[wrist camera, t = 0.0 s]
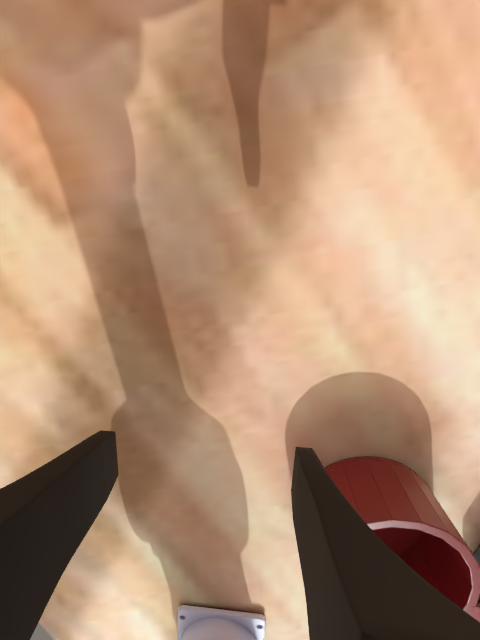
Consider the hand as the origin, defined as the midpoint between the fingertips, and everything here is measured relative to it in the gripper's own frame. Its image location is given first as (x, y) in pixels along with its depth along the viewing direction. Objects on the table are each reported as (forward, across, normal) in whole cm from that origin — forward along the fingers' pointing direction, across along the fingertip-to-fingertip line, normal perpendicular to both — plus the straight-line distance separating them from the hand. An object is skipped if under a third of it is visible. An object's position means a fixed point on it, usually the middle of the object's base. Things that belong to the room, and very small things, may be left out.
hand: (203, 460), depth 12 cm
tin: (+10, -11, +12) cm, 19 cm away
